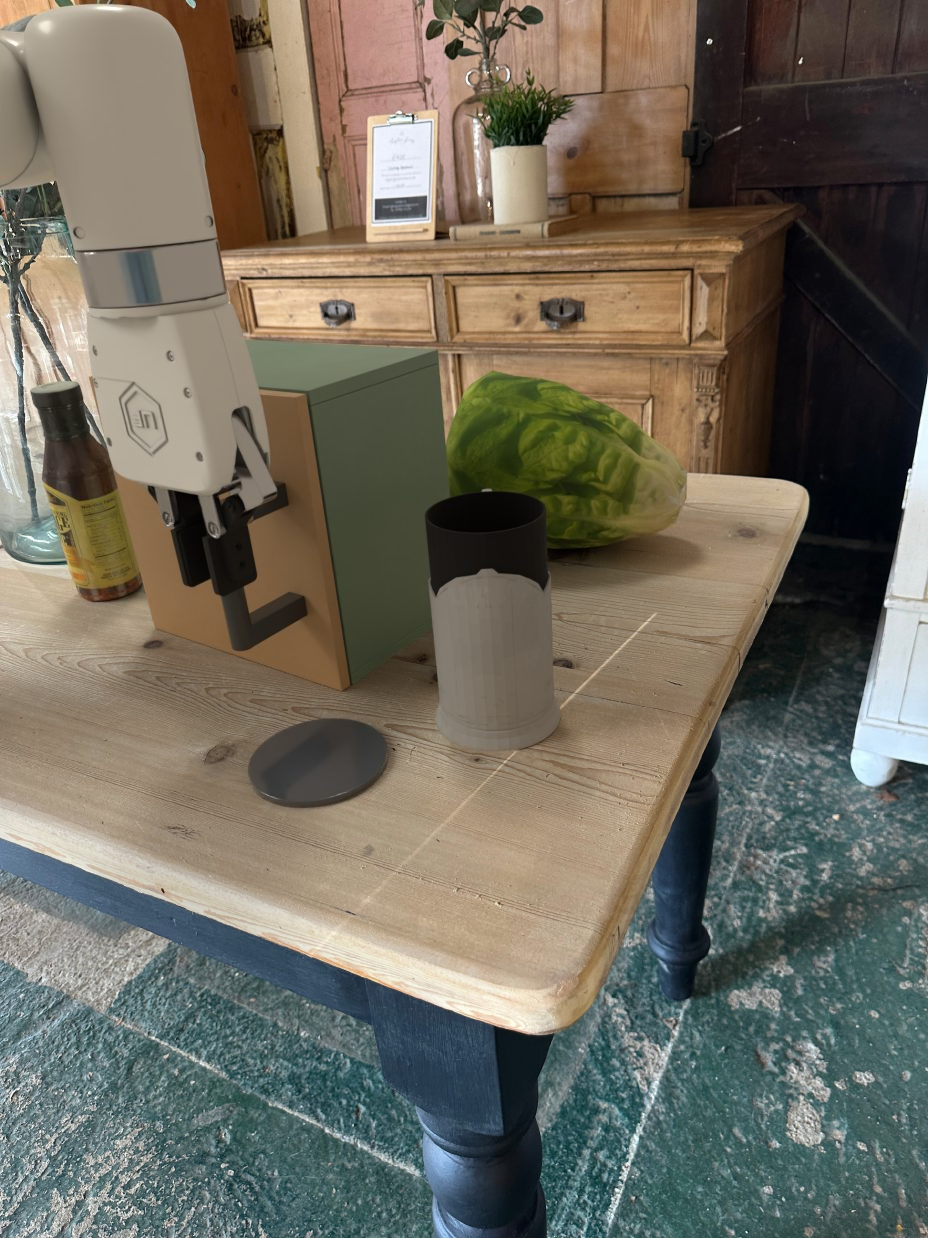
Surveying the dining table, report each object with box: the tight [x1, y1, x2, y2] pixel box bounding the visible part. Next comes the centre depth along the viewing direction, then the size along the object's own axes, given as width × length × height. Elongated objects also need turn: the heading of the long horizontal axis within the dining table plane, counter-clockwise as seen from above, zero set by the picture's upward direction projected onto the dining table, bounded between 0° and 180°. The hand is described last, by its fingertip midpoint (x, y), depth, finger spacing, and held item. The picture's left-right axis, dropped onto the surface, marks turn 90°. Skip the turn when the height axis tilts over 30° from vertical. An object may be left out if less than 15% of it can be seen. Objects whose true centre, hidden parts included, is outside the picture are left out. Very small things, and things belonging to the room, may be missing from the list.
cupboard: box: [245, 338, 450, 685], centre depth 71 cm, size 14×22×22 cm, turn 55°
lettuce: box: [445, 370, 688, 550], centre depth 83 cm, size 17×23×16 cm
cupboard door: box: [88, 375, 351, 692], centre depth 63 cm, size 7×22×22 cm, turn 55°
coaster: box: [247, 717, 389, 809], centre depth 56 cm, size 9×9×1 cm
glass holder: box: [425, 489, 562, 752], centre depth 59 cm, size 9×14×15 cm, turn 178°
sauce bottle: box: [29, 380, 143, 603], centre depth 79 cm, size 7×6×20 cm
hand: (220, 581), depth 56 cm, fingers closed
